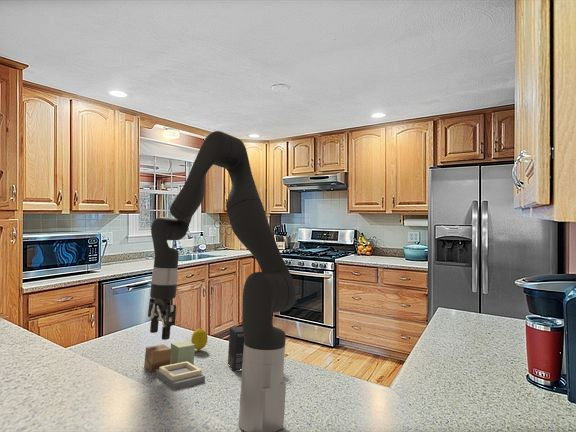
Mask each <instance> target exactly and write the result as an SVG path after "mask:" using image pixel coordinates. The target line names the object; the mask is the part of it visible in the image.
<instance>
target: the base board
mask: <svg viewBox="0 0 576 432" xmlns="http://www.w3.org/2000/svg"><path fill="white" fill-rule="evenodd" d="M202 371H203V370H202V369H201V368H199V367H197V366H196V365H194V364H191V363H189V362H188V361H186V362H181V363H176V364H171V363H170V365H166V366H161V367H159V369H156V372H155V376H157V377H158V378H159V379H160V380H161V381H162V382H164V383H165V384H167V385H168V386H169V387H171V389H173V390H177V389H181V388H185V387H189V386H193V385H197V384H200V383H204V382H205V381H206V375H204V374H203V373H202Z"/></svg>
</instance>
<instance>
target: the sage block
mask: <svg viewBox="0 0 576 432" xmlns="http://www.w3.org/2000/svg"><path fill="white" fill-rule="evenodd" d="M170 349H171V357H170V365H171V364H176V363H181V362H186V361H188V362H189V363H191V364H193V365H194V362H195V352H196V351H195V350H196V349H195V345H194V344H192V342H191V341H188V340H181V341H176V342H175V341H174V342H170Z"/></svg>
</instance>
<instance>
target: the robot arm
mask: <svg viewBox="0 0 576 432" xmlns="http://www.w3.org/2000/svg"><path fill="white" fill-rule="evenodd" d="M213 166H217V167H220V168H223V169H225V170H226V171H227V173H228V175H229V177H230V181H231V189H230V192H229V193H228V196H227V200H226V206H225V207H226V209H225V210H226V212H227V216H228V220H229V224H230V227H231V229H232V231H233V233H234V235H235V236H236V238H237V239H238V240H239V241H240V242H241V244H242V245H243V246H244V247H245V248H246V249H247V250H248V252H250V254H251V255H252V256H253V257H254V258H255V261H256V262H257V263H258V264H257V265H258V266H259V268H260V271H256V272H252V273H250V274H249V275H248V276H247V278H246V280H245V282H244V285H243V288H242V289H243V290H242V310H241V311H242V317H241V318H242V321H241V324H242V326H241V327H242V328H243V333H244V350H243V364H242V371H241V380H240V392H239V393H240V395H239V396H240V397H239V409H238V410H239V411H238V412H239V413H238V427H239V428H240V429H241V430H242V431H243V430H244V431H243V432H278V431H280V430H282V429H284V426H285V425H284V424H285V408H286V393H287V392H286V391H287V389H286V388H287V384H286V382H284V369H285V355H286V354H285V353H286V351H285V350H286V339H287V336H286V332H285V331H284V330H283V329H281V328H280V327H275V326H273V313H280V312H281V313H282V312H285V311H289V310H291V309H292V307H293V306H294V304H295V302H296V299H297V298H296V296H297V292H296V286H295V282H294V280H293V279H294V278H293V276H292V275H291V272H290V270H289V268H288V266H287V264H286V262H285V260H284V257H283V256H282V253H281V252H280V249H279V247H278V244H277V241H276V238H275V236H274V234H273V232H272V231H273V230H272V229H271V226H270V224H269V220H268V217H267V213H266V211H265V208H264V205H263V203H262V199H261V196H260V195H259V194H260V193H259V192H258V188H257V185H256V183H255V182H256V181H255V180H254V179H255V178H254V177H253V173H252V168H251V164H250V160H249V155H248V152H247V148H246V145H245V144H244V142H243V141H242V140H241V139H240V138H238V137H236V136H234V135H231V134H228V133H226V132H223V131H221V130H213V131H211V132H210V133H208V135H207V136H206V137H205V139H204V140H203V142H202V144H201V146H200V147H199V150H198V153H197V154H196V157H195V159H194V161H193V164H192V167H191V168H190V170H189V172H188V173H189V174H188V176H187V178H186V180H185V183H184V184H183V186H182V188H181V189H180V190H179V192H178V194H177V195H176V197H175V198H174V200H173V201H172V202H171V205H170V207H169V213H170V214H171V216H173V217H166V216H158V217H156V218H155V219H154V220H153V221H152V222H151V223H152V224H151V227H150V232H151V239H152V244H153V250H154V260H153V261H154V262H153V268H152V273H151V281H150V282H151V283H150V291H149V292H150V293H149V297H150V298H149V303H148V311H147V317H148V318H149V320H150V326H149V328H150V329H149V333H151V334H156V333H158V332H159V322H160V321H161V325H162V327H161V330H162V331H161V340H162V341H167V340H169V339H170V337H171V327H173V326H175V325H176V316H177V315H176V314H177V305H176V304H172V300H174V299H176V296H177V289H178V277H179V276H178V275H179V272H178V267H179V257H180V255H179V251H178V249H176V248H173V247H170V246H169V243H168V241H180V240H182V239H183V238H185V237H186V235H187V233H188V231H189V227H190V224H191V220H192V218H193V216H194V214H196V212H197V210H198V209H199V207H200V206H201V204H202V203H203V200H204V197H205V179H206V175H207V173H208V172H209V170H210V169H211V167H213Z"/></svg>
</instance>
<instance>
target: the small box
mask: <svg viewBox="0 0 576 432" xmlns="http://www.w3.org/2000/svg"><path fill="white" fill-rule="evenodd" d="M228 335H229V336H228V337H229V338H228V350H227V351H228V355H227V365H228V364H229V365H230V367H231V368H232V369H233V370H232V369H231V368H230V367H229V368H230V369H231V370H232V371H233V372H234V371H236V370H240V369H242V364H243V350H244V333H243V328H242V326H234V327H233V326H231V327H229V334H228ZM236 372H237V371H236Z"/></svg>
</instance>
